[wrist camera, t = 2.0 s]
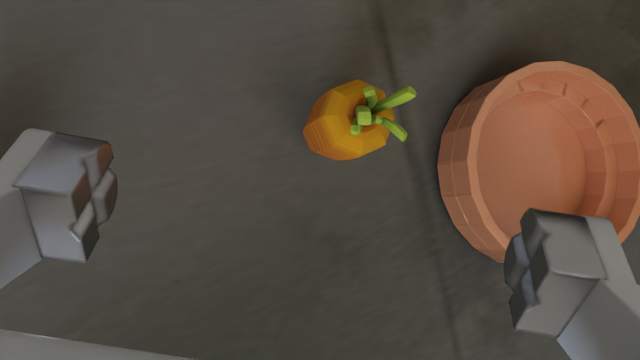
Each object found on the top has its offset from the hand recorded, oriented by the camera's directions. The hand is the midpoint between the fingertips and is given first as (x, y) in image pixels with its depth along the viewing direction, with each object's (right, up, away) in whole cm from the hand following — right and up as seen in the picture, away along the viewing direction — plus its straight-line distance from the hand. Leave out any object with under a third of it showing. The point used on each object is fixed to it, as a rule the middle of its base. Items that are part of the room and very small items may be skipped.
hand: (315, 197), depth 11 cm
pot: (+18, +1, +40) cm, 43 cm away
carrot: (0, +4, +35) cm, 35 cm away
